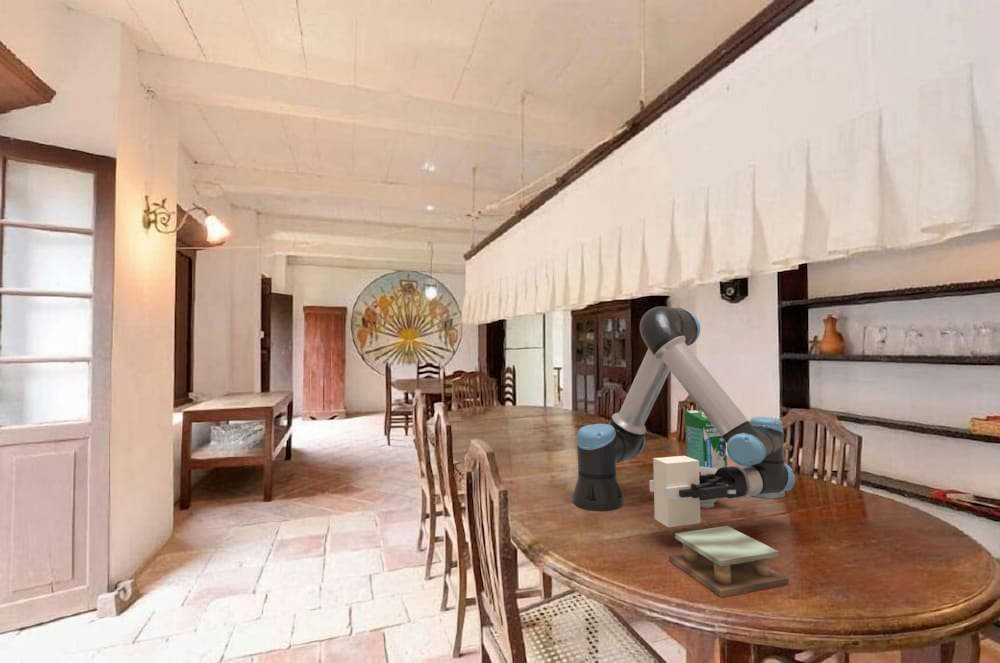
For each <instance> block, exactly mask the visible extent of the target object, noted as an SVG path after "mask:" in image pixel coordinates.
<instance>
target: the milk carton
mask: <svg viewBox="0 0 1000 663" xmlns="http://www.w3.org/2000/svg"><path fill="white" fill-rule="evenodd" d="M684 416H685V441H686V442H685V443H686V444H685V445H686V456H687V457H690V458H692V459H695V460H698V461H699V466H702V467H710V468H715V469H719V468H722V467H728V466H727V448H726V446H727V443H726V442H725V440H724V439H723V438H722V436H721V435H720V434H719V433H718V431H717V430H716V429H715V427H714V426H713V425H712V423H711V422H710V421H709V420H708V418H707V417H706V416H705V414H704V413H703V412H702V411H701V409H695V410H694V409H693V410H692V409H691V410H685V411H684Z"/></svg>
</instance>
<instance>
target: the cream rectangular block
mask: <svg viewBox="0 0 1000 663" xmlns="http://www.w3.org/2000/svg"><path fill="white" fill-rule="evenodd" d="M652 460H653V462H652V463H653V480H654V492H653V495H654V496H653V501H654V503H653V504H654V521H655V520H656V521H658V522H659V523H660V524H662V525H664V526H665V527H667V528H675V527H681V526H682V527H683V526H689V525H690V526H691V525H698V524H701V523H702V521H701V507H700V500H699V497H698V498H692V497H690V498H681V499H673V500H666V499H665V488H666V487H675V486H685V485H689V486H690V489H691V484H695V485H700V481H699V461H698V460H695V459H692V458H690V457H687V455H676V456H674V455H673V456H666V457H665V456H664V457H663V456H662V457H653V458H652Z"/></svg>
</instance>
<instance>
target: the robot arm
mask: <svg viewBox="0 0 1000 663" xmlns="http://www.w3.org/2000/svg"><path fill="white" fill-rule="evenodd" d="M639 332H640V336H641V338H642V340H643V343H644V344H645V346H646V347H647V351H646V353H645V355H644V356H643V359H642V362H641V364H640V366H639V368H638V370H637V372H636V374H635V377H634V379H633V382H632V383H631V385H630V388H629V390H628V392H627V394H626V397H625V398H624V401H623V404H622V405H621V407H620V410H619V412H616V413H614V414H612V415H611V417H610V420H609V422H608V424H607V423H594V424H586V425H584V426H582V427H580V428H579V429H578V431H577V433H576V434H577V436H576V446H577V471H578V472H577V475H578V476H577V477H578V478H577V480H576V482H575V483H576V484H575V487H574V490H573V495H572V497H573V499H572V500H573V501H572V502H573V504H574V505H576V506H577V507H579V508H582V509H586V510H591V511H612V510H617V509H619V508H621V507H623V505H624V497H623V496H624V495H623V493H622V489H621V487H620V484H619V481H618V479H617V464H619V463H621V462H625V461H628V460H632V459H635V457H637V456H638V455H640V454H641V453H642V452H643V450H644V448H645V445H646V438H645V435H646V433H647V428H646V426H645V424H646V421H647V419H648V418H649V415H650V414H651V411H652V409H653V407H654V404H655V402H656V401H657V398H658V396H659V394H660V392H661V390H662V388H663V386H664V384H665V382H666V379H667V378H668V375H669V373H670V372H671V373H672V374H673V376H674V377H675V378H676V380H677V381H678V383H679V384H680V385H681V386H682V387H683V389H684V390H685V391H686V392H687V394H688V395H689V397H691V399H692V400H693V401H694V403H695V404H696V405H697V407H698V408H699V410H701V411H702V412H703V413H704V414H705V416H706V417H707V418H708V420H709V421H710V422H711V423H712V425H713V426H714V427H715V429H716V430H717V431H718V433H719V434H720V435H721V436H722V438H723V439H724V440H725V443H726V454H727V455H728V457H729V458H730V460H731V461H732V462H733V463H735V464H737V465H732V466H727V467H722V468H719V469H718V470H717V472H716V473H715V474H707V475H701V472H699V481H700V485H695V484H691V489H690V486H689V485H685V486H675V487H666V488H665V499H666V500H673V499H681V498H690V497H692V498H698V497H699V500H702V501H703V500H710V499H717V498H719V499H723V498H727V499H735V498H742V497H745V498H748V499H749V497H752V496H751V495H759V494H770V493H780V492H784V491H785V492H787V491H790V490H791V489H793V488H794V486H795V484H796V475H795V474H794V470H793V468H792V467H791V466H790V465H788V464H787V462H786V463H784V455H785V451H784V447H783V443H784V435H785V432H784V428H783V427H784V425H783V422H782V421H781V419H779V418H776V417H769V416H754V417H751V418H750V420H749V419H748V417H746V415H745V414H744V413H743V412H742V411H741V409H740V408H739V407H738V406H737V405H736V403H735V402H734V401H733V400H732V399H731V397H730V396H729V395H728V393H727V392H726V391H725V390H724V388H722V386H721V385H720V383H718V381H717V379H715V378H714V376H713V375H712V374H711V373H710V372H709V371H708V369H707V368H706V367H705V366H704V364H703V363H702V362H701V361H700V360H699V358H698V357H697V356H696V354H695V353H694V352H693V351H692V349H691V348H690V347H689V346H691V345H693V344H695V342H696V341H697V340H698V338H699V336H700V335H701V324H700V322H699V319H698V317H697V316H696V315H695V314H694V313H693V312H691V311H690V310H688V309H685V308H682V307H670V306H660V305H659V306H655V307H652V308H650V309H649V310H647V311H646V312H645V313H644V315H642V317H641V319H640V322H639ZM649 492H650V493H654V479H650V480H649ZM705 495H706V496H705Z"/></svg>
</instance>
